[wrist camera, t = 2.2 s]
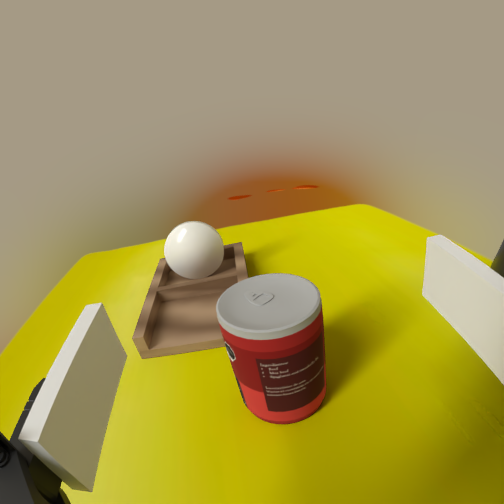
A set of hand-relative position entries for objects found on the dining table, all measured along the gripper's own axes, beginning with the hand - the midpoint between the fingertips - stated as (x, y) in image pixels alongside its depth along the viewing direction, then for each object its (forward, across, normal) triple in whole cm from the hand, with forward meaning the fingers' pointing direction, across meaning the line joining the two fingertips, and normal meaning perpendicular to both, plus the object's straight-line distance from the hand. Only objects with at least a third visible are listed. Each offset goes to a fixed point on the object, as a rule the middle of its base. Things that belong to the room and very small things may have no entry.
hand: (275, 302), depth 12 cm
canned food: (+10, 0, -17) cm, 20 cm away
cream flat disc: (+35, -8, -16) cm, 39 cm away
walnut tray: (+30, -8, -17) cm, 35 cm away
